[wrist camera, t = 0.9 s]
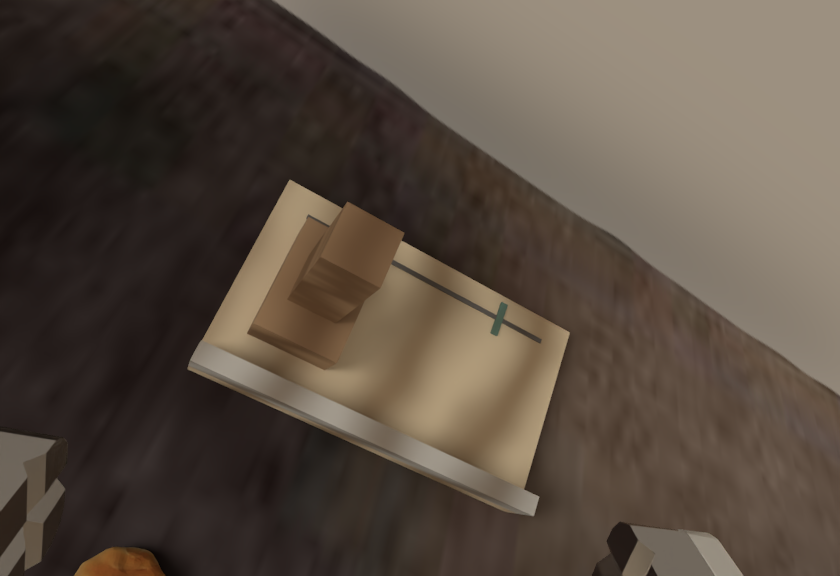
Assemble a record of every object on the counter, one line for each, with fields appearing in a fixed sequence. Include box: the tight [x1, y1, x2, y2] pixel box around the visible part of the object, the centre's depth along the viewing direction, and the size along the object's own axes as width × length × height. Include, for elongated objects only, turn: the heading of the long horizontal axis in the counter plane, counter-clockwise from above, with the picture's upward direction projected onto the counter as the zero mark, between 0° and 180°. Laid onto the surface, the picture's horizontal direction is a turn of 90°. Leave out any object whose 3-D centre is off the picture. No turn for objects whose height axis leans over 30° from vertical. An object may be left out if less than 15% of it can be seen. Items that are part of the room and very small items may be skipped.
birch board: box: [188, 180, 570, 516], centre depth 39 cm, size 22×13×4 cm, turn 68°
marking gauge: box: [247, 202, 404, 370], centre depth 33 cm, size 5×8×11 cm, turn 158°
